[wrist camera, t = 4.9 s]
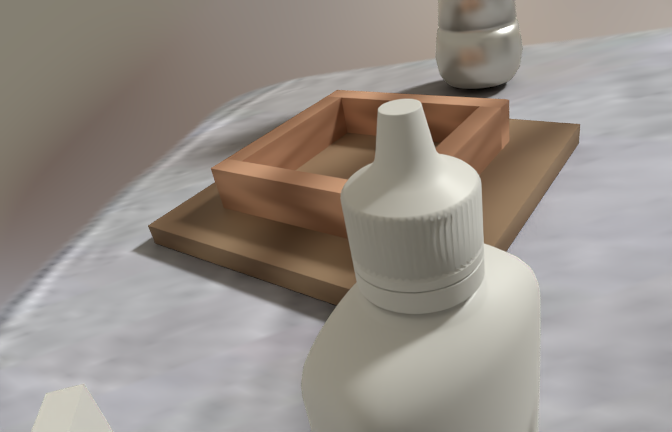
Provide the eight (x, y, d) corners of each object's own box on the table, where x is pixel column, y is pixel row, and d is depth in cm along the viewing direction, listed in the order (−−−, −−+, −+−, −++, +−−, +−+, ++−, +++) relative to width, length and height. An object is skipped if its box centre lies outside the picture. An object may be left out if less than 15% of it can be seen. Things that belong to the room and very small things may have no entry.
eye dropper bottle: (333, 482, 16) (222, 107, 10) (506, 427, 17) (498, 41, 11) (373, 649, 12) (233, 216, 6) (593, 572, 13) (658, 105, 7)
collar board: (578, 142, 32) (582, 82, 30) (445, 342, 20) (437, 264, 18) (336, 119, 42) (327, 73, 40) (155, 243, 30) (131, 186, 29)
